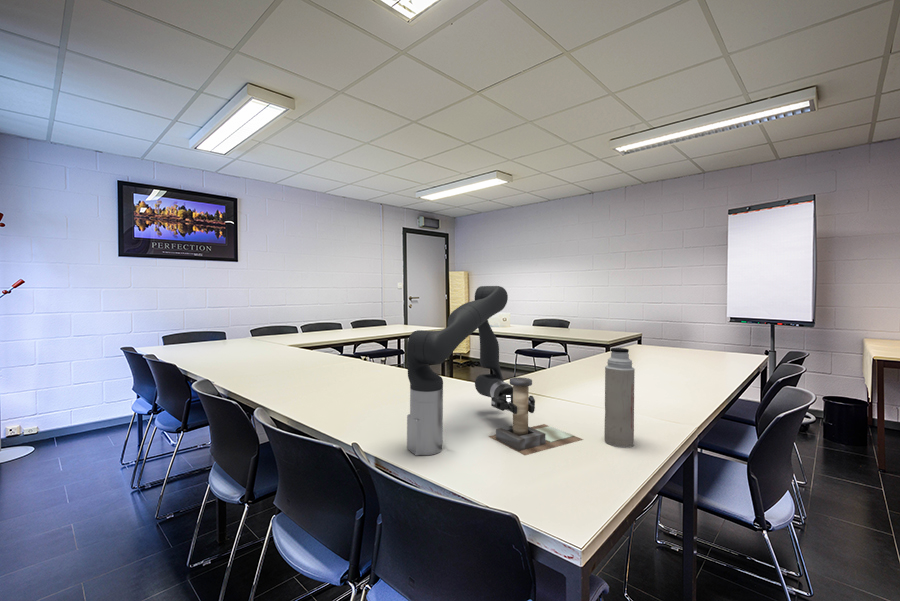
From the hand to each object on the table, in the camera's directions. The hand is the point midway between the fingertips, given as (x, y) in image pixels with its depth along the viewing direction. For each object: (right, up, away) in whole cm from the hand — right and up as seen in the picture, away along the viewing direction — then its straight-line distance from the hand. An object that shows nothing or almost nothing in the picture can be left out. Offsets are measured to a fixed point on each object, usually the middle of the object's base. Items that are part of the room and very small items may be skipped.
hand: (524, 409), depth 109 cm
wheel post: (-1, -10, +3) cm, 10 cm away
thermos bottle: (+29, -11, +6) cm, 32 cm away
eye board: (+4, -11, +6) cm, 13 cm away
